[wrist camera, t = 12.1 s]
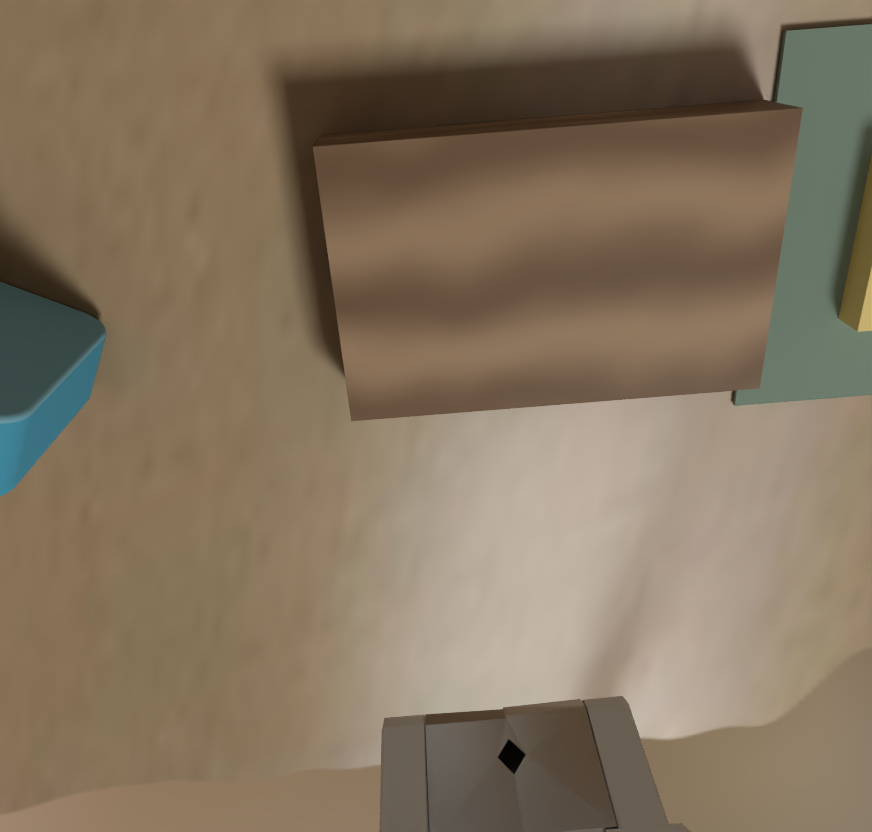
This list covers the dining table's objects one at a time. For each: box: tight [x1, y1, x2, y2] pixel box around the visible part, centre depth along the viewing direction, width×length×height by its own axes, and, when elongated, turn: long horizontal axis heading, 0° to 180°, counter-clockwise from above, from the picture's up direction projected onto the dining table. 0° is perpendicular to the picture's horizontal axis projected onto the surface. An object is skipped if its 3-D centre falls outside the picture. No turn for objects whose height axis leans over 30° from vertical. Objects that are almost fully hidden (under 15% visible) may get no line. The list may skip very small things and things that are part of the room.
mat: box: [733, 24, 872, 406], centre depth 40 cm, size 20×10×1 cm, turn 4°
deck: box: [313, 100, 803, 421], centre depth 38 cm, size 14×22×4 cm, turn 94°
